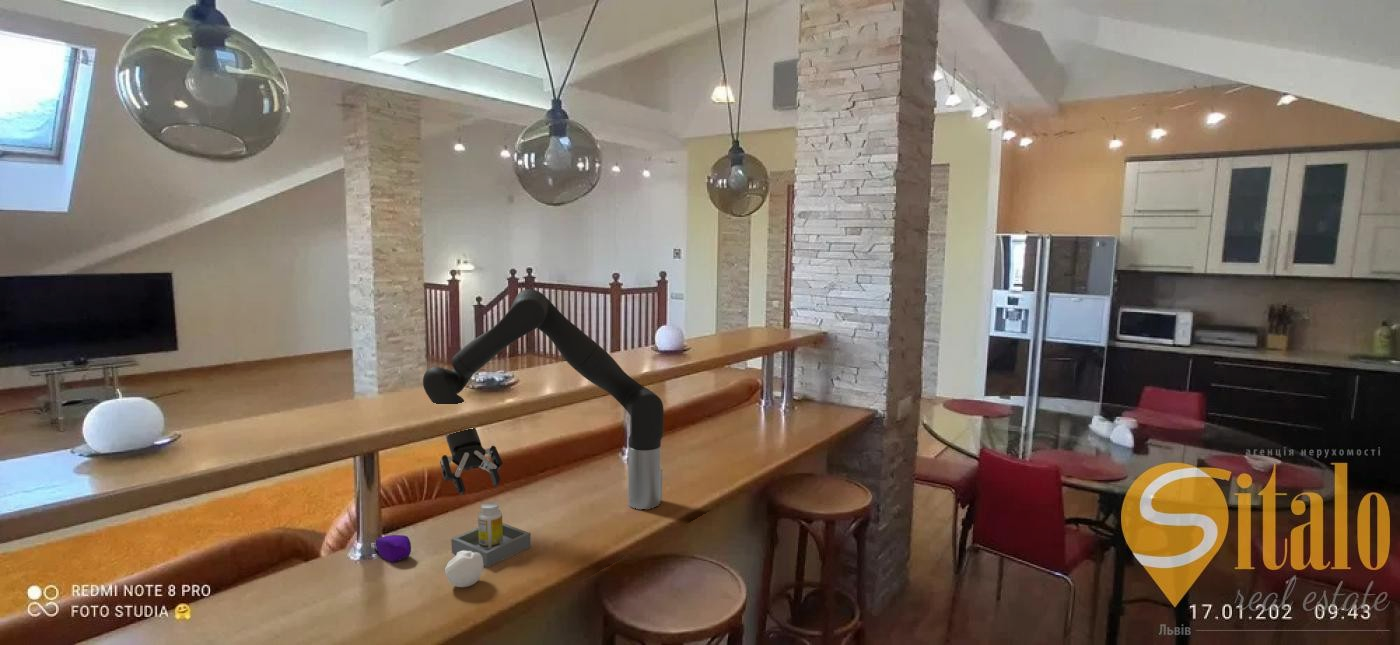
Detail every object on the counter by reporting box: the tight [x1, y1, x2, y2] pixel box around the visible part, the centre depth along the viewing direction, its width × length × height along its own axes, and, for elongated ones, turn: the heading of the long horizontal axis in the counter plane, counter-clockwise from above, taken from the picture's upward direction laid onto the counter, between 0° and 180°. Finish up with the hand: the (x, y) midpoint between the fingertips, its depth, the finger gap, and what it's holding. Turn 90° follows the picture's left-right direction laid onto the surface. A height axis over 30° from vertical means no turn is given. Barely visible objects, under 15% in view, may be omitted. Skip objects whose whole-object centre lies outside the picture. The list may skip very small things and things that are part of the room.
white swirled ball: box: [444, 551, 484, 588], centre depth 140 cm, size 8×8×8 cm
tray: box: [450, 522, 532, 568], centre depth 157 cm, size 13×13×4 cm
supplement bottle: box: [477, 501, 503, 550], centre depth 157 cm, size 6×6×10 cm
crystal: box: [376, 534, 412, 563], centre depth 154 cm, size 5×5×15 cm
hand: (480, 488), depth 160 cm, fingers open, 8 cm apart
